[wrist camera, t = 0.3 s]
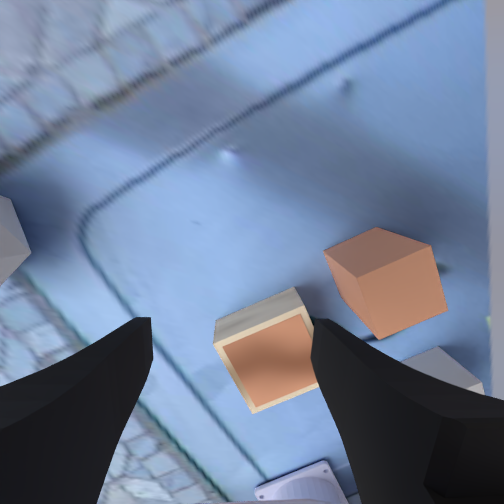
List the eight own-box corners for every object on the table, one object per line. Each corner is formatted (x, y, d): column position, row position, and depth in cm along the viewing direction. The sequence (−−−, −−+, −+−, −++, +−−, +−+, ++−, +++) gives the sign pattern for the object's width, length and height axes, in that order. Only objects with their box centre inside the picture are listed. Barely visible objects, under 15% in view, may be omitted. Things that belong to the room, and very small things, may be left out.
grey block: (447, 382, 25) (491, 423, 21) (403, 400, 26) (438, 445, 21) (437, 345, 24) (481, 382, 20) (391, 365, 24) (424, 405, 20)
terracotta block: (391, 275, 22) (448, 310, 16) (341, 297, 22) (378, 339, 16) (376, 226, 21) (430, 245, 15) (322, 250, 21) (356, 278, 15)
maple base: (321, 351, 24) (336, 380, 20) (249, 381, 24) (252, 414, 21) (293, 285, 22) (304, 305, 18) (216, 318, 22) (212, 344, 19)
